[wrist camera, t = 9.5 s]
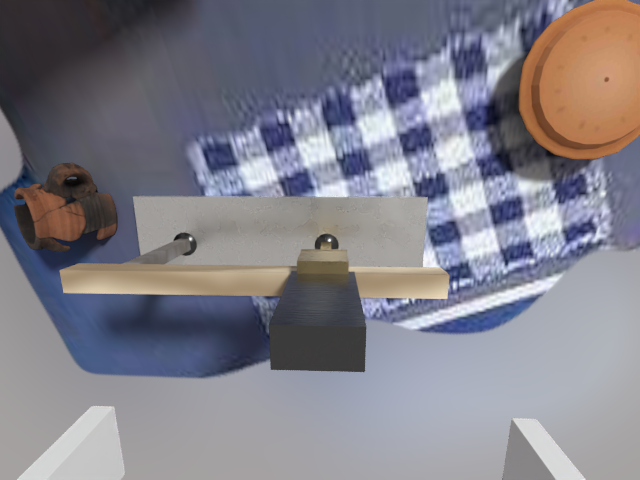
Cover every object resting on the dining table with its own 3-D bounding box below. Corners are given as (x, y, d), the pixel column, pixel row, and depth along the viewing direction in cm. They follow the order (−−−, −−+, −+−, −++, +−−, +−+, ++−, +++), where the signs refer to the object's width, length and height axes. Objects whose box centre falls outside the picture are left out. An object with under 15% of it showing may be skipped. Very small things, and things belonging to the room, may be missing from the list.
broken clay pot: (117, 255, 43) (42, 273, 37) (85, 219, 47) (10, 228, 40) (126, 178, 38) (39, 181, 31) (89, 142, 41) (3, 139, 34)
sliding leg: (305, 227, 38) (268, 306, 16) (347, 228, 38) (367, 308, 16) (306, 264, 39) (271, 385, 17) (346, 264, 39) (364, 388, 17)
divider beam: (153, 236, 40) (59, 270, 26) (408, 238, 39) (449, 275, 25) (155, 251, 40) (63, 292, 27) (407, 253, 39) (447, 298, 25)
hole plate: (142, 195, 41) (132, 196, 39) (422, 196, 39) (427, 197, 37) (153, 282, 43) (144, 288, 41) (416, 286, 42) (420, 292, 40)
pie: (476, 130, 38) (498, 124, 33) (545, -8, 34) (581, -37, 29) (591, 180, 38) (628, 182, 33) (669, 50, 35) (723, 30, 30)
